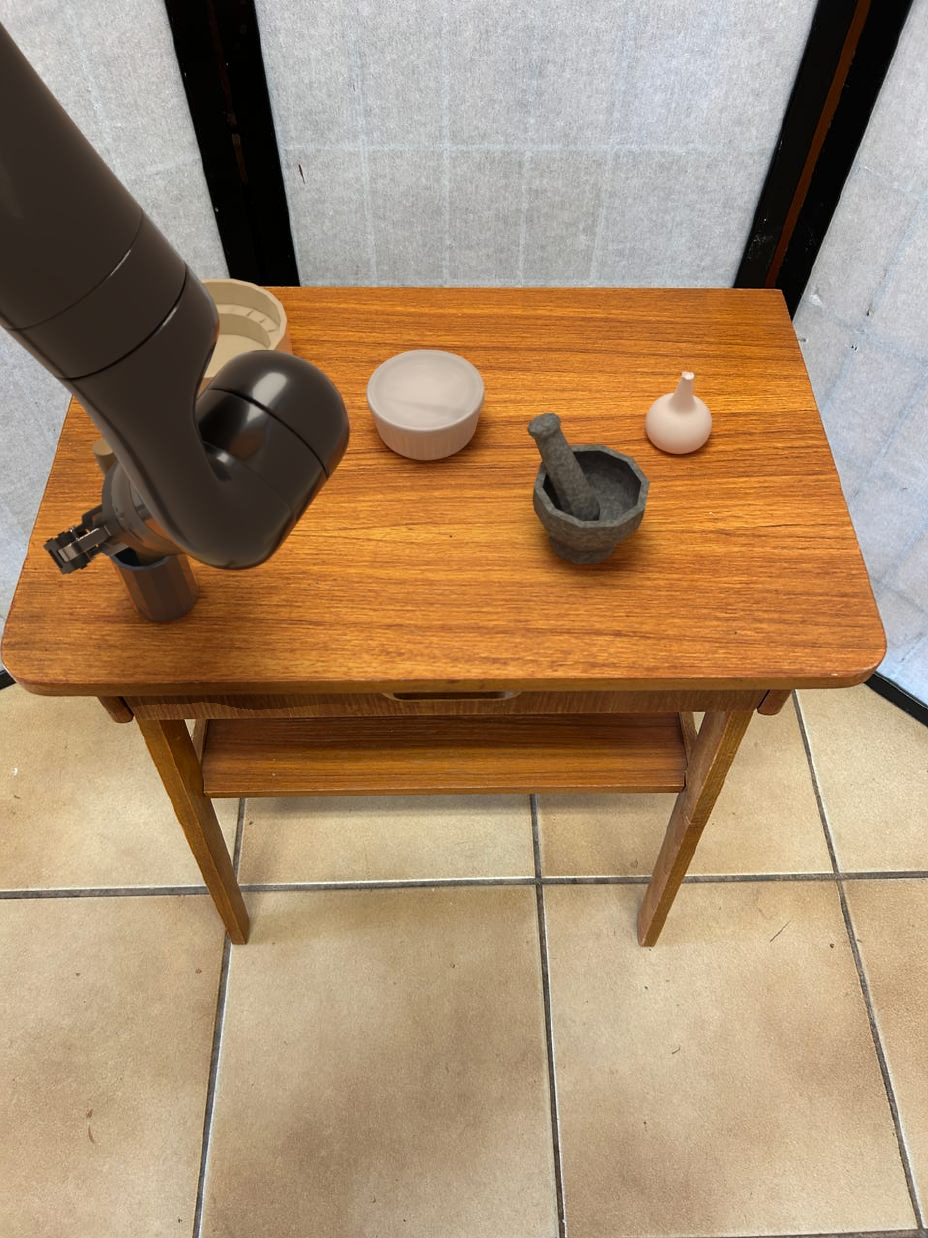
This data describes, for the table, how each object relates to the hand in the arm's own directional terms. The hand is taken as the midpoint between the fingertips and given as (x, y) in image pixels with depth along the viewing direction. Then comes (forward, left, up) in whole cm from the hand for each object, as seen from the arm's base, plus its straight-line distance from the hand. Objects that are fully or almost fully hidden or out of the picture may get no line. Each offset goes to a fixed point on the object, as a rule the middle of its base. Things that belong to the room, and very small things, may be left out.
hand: (129, 514), depth 74 cm
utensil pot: (0, -1, -9) cm, 10 cm away
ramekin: (+27, +12, -10) cm, 31 cm away
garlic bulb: (+50, +4, -10) cm, 51 cm away
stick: (0, -1, -9) cm, 9 cm away
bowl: (+9, +26, -9) cm, 29 cm away
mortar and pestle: (+36, -5, -10) cm, 38 cm away
